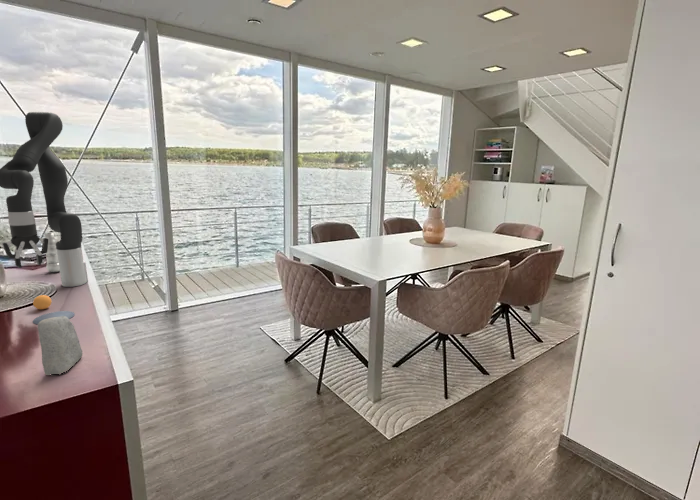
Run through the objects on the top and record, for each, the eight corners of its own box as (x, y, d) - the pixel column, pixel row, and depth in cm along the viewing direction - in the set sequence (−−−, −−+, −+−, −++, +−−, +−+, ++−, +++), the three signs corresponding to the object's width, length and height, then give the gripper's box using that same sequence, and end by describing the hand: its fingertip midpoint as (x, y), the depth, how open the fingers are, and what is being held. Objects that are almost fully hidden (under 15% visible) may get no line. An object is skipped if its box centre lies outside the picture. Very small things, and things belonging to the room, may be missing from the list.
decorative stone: (67, 356, 110) (59, 308, 107) (88, 355, 110) (81, 308, 107) (40, 376, 99) (31, 324, 96) (64, 376, 100) (55, 324, 96)
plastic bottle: (66, 270, 193) (61, 232, 188) (52, 274, 186) (46, 235, 182) (58, 269, 195) (52, 231, 190) (44, 272, 188) (37, 234, 184)
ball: (43, 305, 147) (41, 292, 145) (56, 306, 146) (54, 293, 145) (30, 311, 141) (27, 297, 140) (43, 312, 141) (40, 298, 139)
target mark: (54, 310, 142) (54, 309, 142) (82, 312, 141) (82, 312, 141) (23, 323, 131) (23, 322, 131) (54, 325, 129) (54, 325, 129)
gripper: (-1, 226, 134) (7, 271, 138) (48, 222, 145) (55, 264, 149) (-6, 224, 139) (3, 267, 142) (43, 220, 150) (49, 261, 154)
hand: (29, 265), depth 146 cm, fingers open, 5 cm apart
